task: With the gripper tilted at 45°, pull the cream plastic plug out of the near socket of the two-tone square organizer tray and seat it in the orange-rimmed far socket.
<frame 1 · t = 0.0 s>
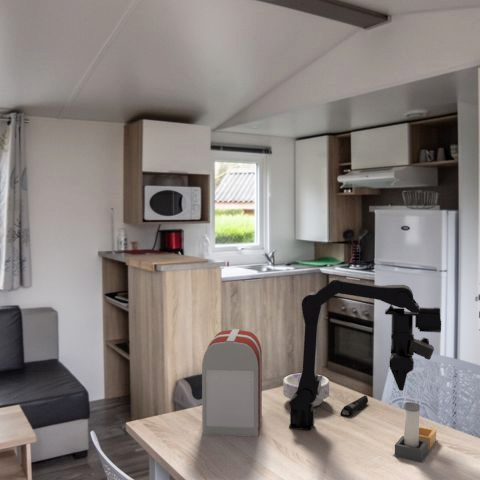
hand: (401, 385, 158), 15 cm above the table, tool pointing down, fingers open, 9 cm apart
arched-top grey box: (233, 424, 168), on the table
two-tone square organizer tray: (416, 451, 148), on the table
plug: (411, 454, 144), point 1 cm above the table, touching two-tone square organizer tray
electric trimmer: (354, 411, 180), on the table
paper bowls: (306, 403, 186), on the table
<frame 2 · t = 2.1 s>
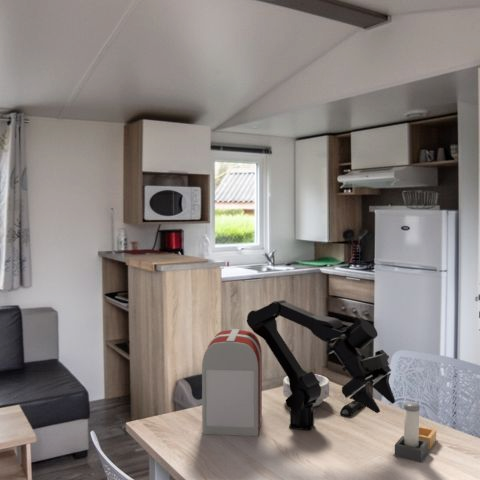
hand: (386, 407, 149), 12 cm above the table, tool tilted 45°, fingers open, 9 cm apart
arched-top grey box: (233, 424, 168), on the table, touching arm
everything else where it was.
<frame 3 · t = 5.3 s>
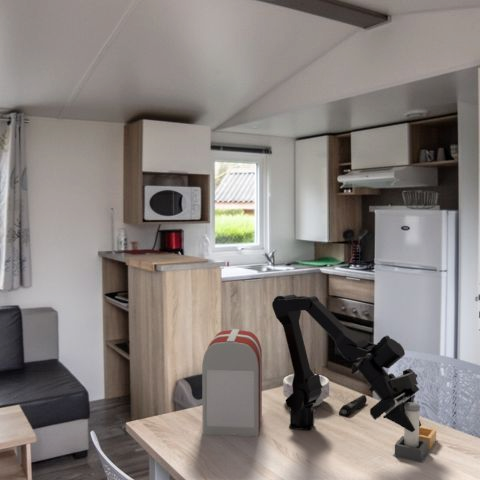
hand: (416, 428, 143), 8 cm above the table, tool tilted 45°, fingers closed on plug, 4 cm apart
arched-top grey box: (233, 424, 168), on the table
plug: (411, 454, 144), point 1 cm above the table, touching gripper, two-tone square organizer tray
everything else where it was.
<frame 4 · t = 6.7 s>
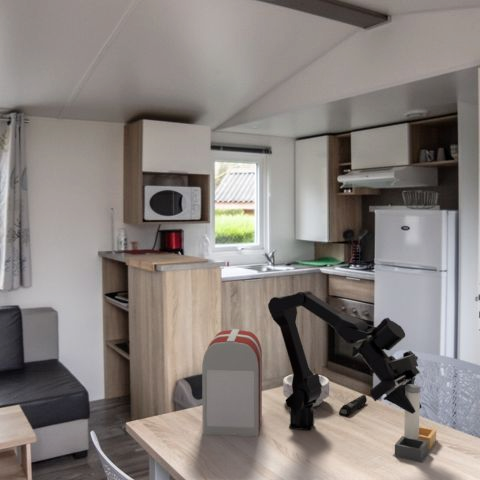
hand: (417, 410, 143), 13 cm above the table, tool tilted 45°, fingers closed on plug, 4 cm apart
plug: (411, 436, 144), point 6 cm above the table, touching gripper
everything else where it was.
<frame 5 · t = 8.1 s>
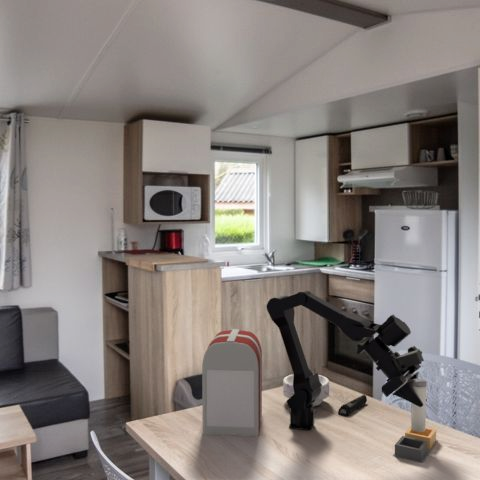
hand: (424, 403, 147), 13 cm above the table, tool tilted 45°, fingers closed on plug, 4 cm apart
plug: (418, 429, 148), point 6 cm above the table, touching gripper
everything else where it was.
when the fingers open (9 cm above the table, at t = 10.9 s): plug stays where it is, resting on two-tone square organizer tray.
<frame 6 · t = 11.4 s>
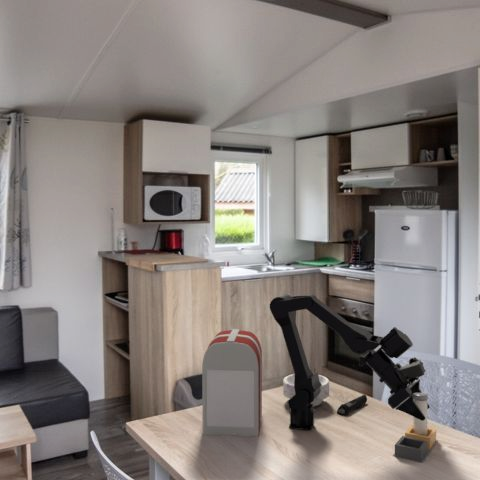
hand: (426, 413, 151), 9 cm above the table, tool tilted 45°, fingers open, 9 cm apart
plug: (420, 442, 152), point 1 cm above the table, touching two-tone square organizer tray
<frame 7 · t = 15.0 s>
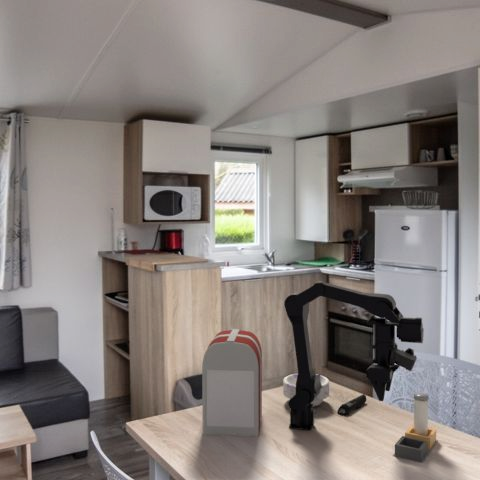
hand: (384, 395, 156), 12 cm above the table, tool pointing down, fingers open, 9 cm apart
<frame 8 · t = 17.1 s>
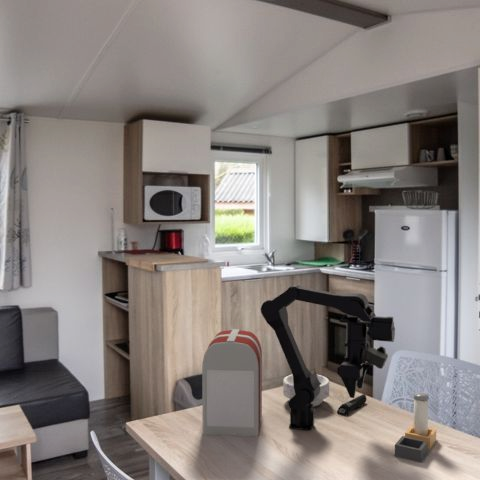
hand: (356, 392, 159), 12 cm above the table, tool pointing down, fingers open, 9 cm apart
at the end: plug 0.0 cm from the target spot, point 1.0 cm above the table; plug tilted 0°; the gripper is holding nothing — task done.
